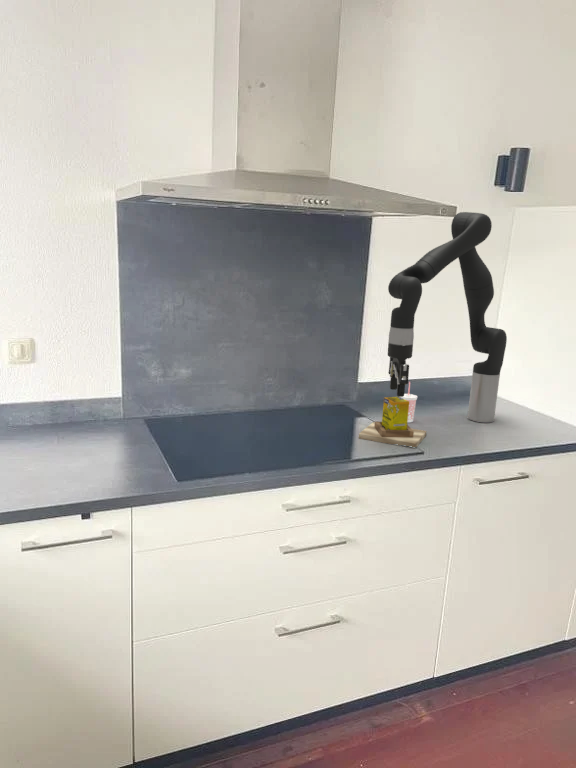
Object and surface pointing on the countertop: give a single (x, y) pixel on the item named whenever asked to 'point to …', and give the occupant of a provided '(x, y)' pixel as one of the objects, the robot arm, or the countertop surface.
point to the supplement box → (395, 413)
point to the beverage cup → (410, 404)
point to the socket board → (392, 440)
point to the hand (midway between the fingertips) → (396, 392)
